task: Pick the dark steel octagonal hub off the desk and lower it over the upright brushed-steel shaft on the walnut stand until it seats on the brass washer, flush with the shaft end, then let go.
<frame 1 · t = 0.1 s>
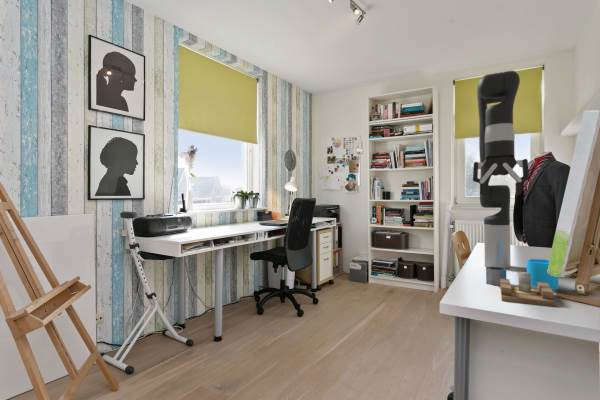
hand: (500, 196, 103), 29 cm above the table, fingers open, 8 cm apart
shaft stand: (524, 295, 101), on the table
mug: (542, 286, 112), on the table
hub: (496, 283, 115), on the table
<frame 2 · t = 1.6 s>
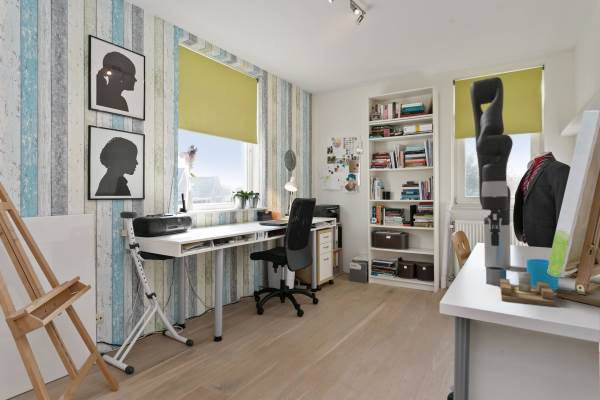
hand: (495, 244, 115), 13 cm above the table, fingers open, 8 cm apart
nothing on the table moved.
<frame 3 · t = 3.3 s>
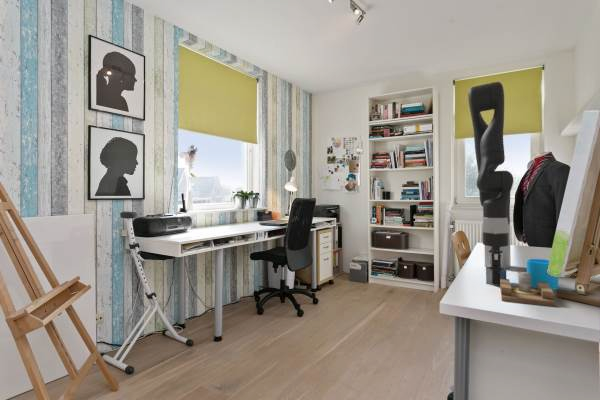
hand: (496, 281, 115), 1 cm above the table, fingers closed on hub, 5 cm apart
hub: (496, 283, 115), on the table, touching gripper
everything else where it was.
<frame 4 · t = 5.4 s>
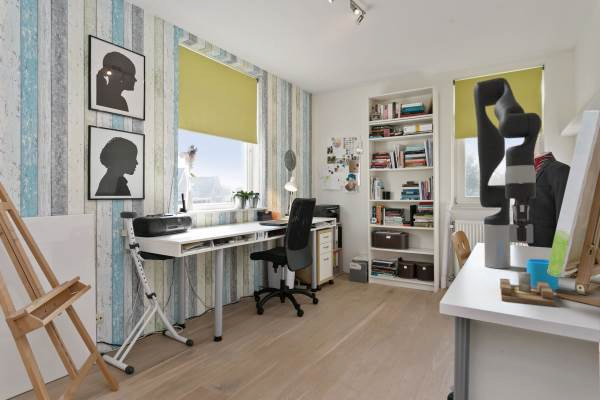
hand: (521, 239, 101), 16 cm above the table, fingers closed on hub, 5 cm apart
hub: (520, 241, 101), point 16 cm above the table, touching gripper
everything else where it was.
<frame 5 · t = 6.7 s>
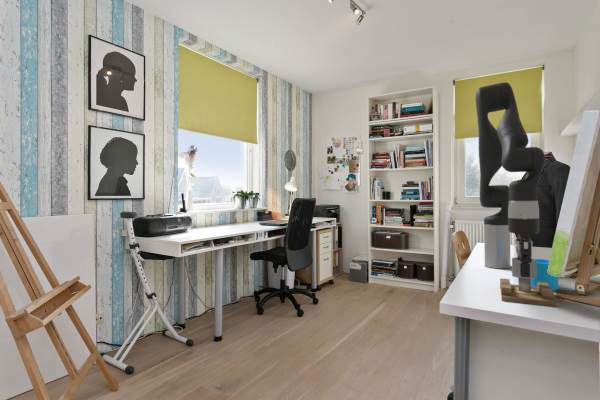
hand: (524, 274, 101), 6 cm above the table, fingers closed on hub, 5 cm apart
hub: (524, 276, 101), point 6 cm above the table, touching gripper
everything else where it was.
when the fingers open (3 cm above the table, at t = 7.9 s): hub stays where it is, resting on shaft stand.
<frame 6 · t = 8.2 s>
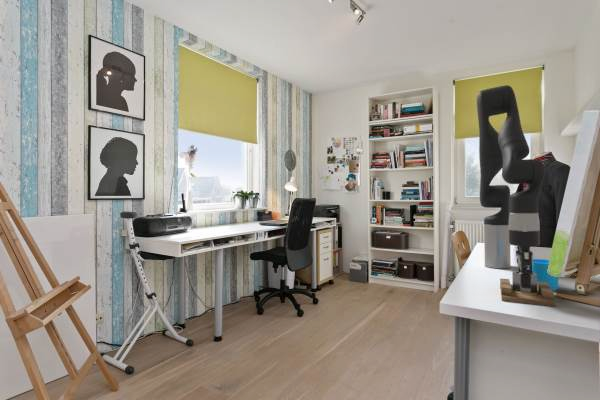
hand: (524, 284, 101), 3 cm above the table, fingers open, 8 cm apart
hub: (524, 290, 101), point 1 cm above the table, touching shaft stand
everything else where it was.
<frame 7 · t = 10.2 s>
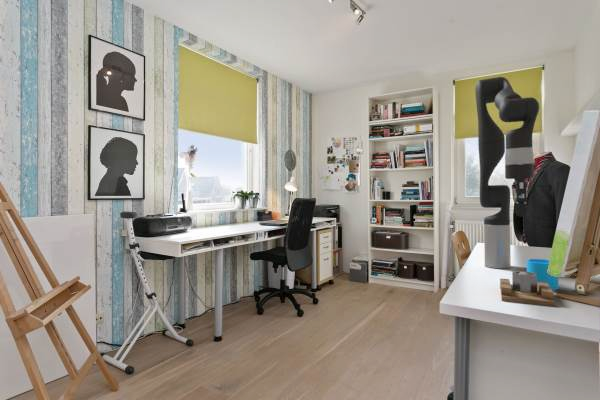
hand: (519, 215, 109), 23 cm above the table, fingers open, 8 cm apart
nothing on the table moved.
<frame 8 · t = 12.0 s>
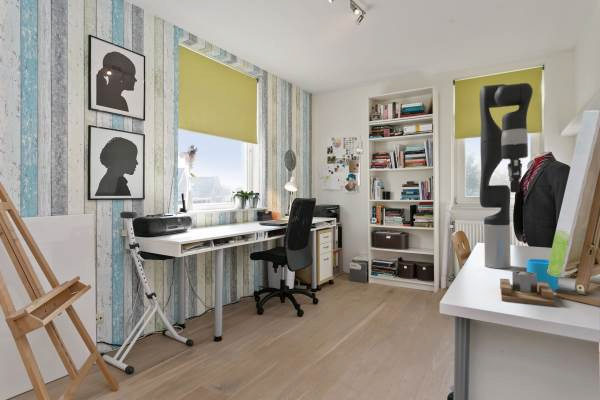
hand: (515, 192, 117), 30 cm above the table, fingers open, 8 cm apart
nothing on the table moved.
at the end: hub 0.2 cm off-centre on the shaft stand, point 1.5 cm above the shaft stand's base; hub tilted 0°; the gripper is holding nothing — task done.
